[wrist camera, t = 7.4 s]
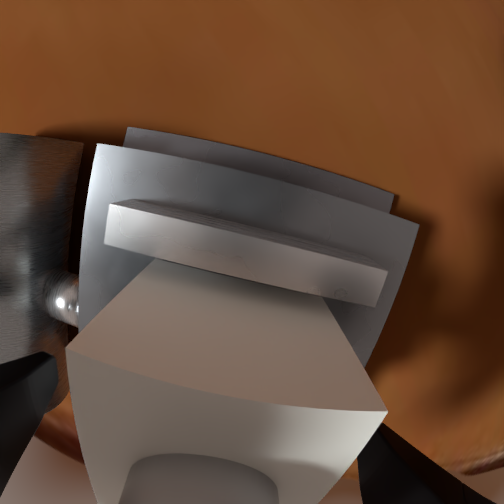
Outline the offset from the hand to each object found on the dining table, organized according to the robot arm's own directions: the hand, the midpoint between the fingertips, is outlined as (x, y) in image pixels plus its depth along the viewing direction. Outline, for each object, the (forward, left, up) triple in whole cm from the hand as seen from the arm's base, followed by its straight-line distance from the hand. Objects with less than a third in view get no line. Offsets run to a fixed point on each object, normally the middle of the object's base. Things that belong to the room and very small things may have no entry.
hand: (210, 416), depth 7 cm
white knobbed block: (0, 0, -2) cm, 2 cm away
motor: (+4, 0, -7) cm, 8 cm away
